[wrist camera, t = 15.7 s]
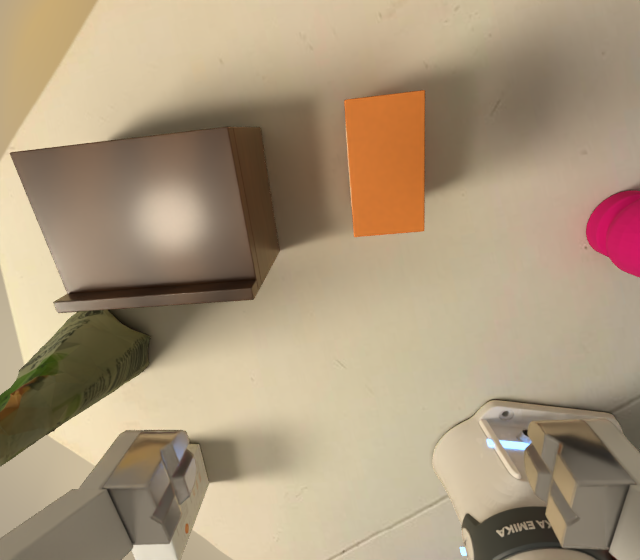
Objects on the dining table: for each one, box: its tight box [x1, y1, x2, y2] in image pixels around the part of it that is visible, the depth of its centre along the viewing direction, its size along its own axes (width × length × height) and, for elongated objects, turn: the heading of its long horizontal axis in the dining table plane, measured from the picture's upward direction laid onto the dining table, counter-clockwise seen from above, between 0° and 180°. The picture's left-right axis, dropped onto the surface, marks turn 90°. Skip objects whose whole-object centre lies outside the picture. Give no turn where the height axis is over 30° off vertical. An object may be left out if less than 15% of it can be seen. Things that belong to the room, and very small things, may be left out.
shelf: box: [10, 127, 280, 313], centre depth 31 cm, size 16×12×12 cm
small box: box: [131, 444, 209, 560], centre depth 46 cm, size 8×6×10 cm
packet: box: [344, 90, 425, 237], centre depth 29 cm, size 5×9×10 cm, turn 6°
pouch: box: [0, 310, 151, 466], centre depth 32 cm, size 11×12×25 cm
